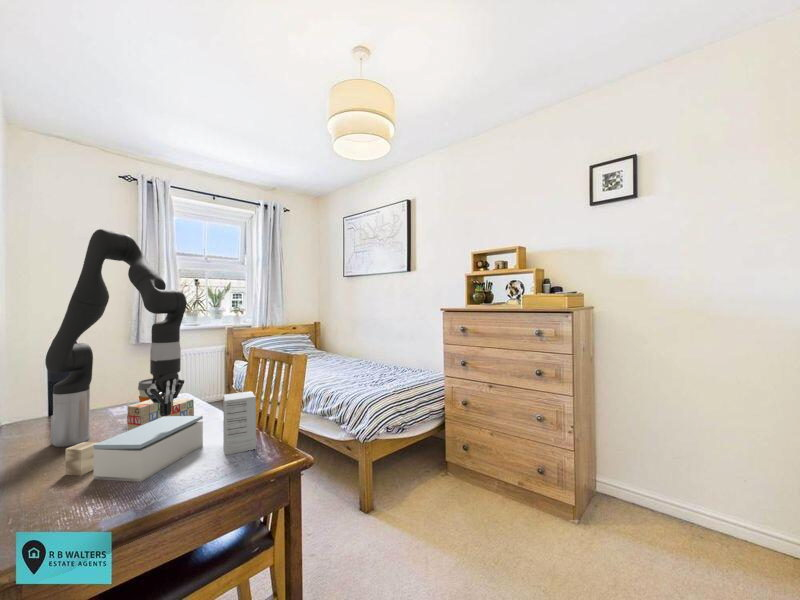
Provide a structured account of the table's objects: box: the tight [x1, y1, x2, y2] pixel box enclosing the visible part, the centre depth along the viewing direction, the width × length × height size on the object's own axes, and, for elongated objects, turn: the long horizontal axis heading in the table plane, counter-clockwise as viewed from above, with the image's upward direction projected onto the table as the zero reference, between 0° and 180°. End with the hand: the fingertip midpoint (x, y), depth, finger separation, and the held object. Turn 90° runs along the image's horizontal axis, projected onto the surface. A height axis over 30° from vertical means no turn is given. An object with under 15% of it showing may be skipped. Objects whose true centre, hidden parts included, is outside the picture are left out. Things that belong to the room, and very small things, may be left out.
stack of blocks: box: [126, 397, 195, 431], centre depth 131 cm, size 21×6×12 cm, turn 163°
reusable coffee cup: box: [137, 377, 163, 403], centre depth 148 cm, size 13×13×15 cm
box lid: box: [93, 415, 203, 449], centre depth 106 cm, size 14×24×1 cm, turn 172°
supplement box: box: [222, 391, 257, 456], centre depth 116 cm, size 10×9×17 cm
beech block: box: [65, 441, 98, 476], centre depth 100 cm, size 5×5×7 cm
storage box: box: [93, 420, 204, 483], centre depth 106 cm, size 14×24×8 cm, turn 173°
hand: (165, 415), depth 106 cm, fingers closed
